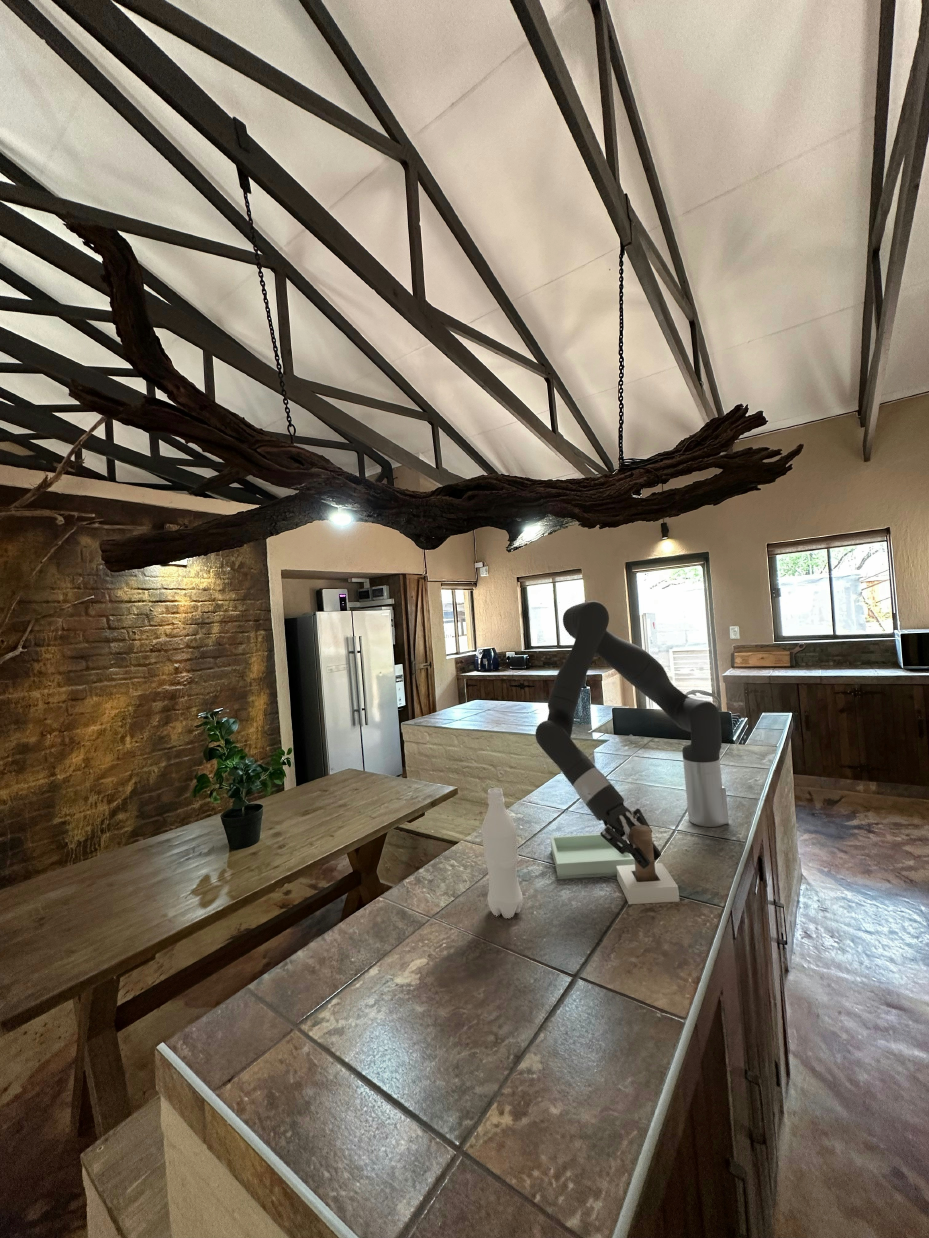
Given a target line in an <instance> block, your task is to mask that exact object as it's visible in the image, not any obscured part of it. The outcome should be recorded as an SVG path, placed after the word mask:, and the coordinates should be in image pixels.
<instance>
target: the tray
mask: <svg viewBox="0 0 929 1238" xmlns="http://www.w3.org/2000/svg"><path fill="white" fill-rule="evenodd" d="M600 833H601V832H600ZM600 833H587V834H570V835H557V836H549V840H550V849H551V855H552V858H553V863H554V867H555V870H556V874H557V878H558V880H569V879H582V878H586V879H587V878H598V877H599V878H600V877H614V876H616V877H617V870H616V866H623V865H635V861H634V858H633V857H632V855H631V854H629V853H624V854H621V853H620V852H619V851H618V850H616V849H615V848H614V847H613V846H612V845H611V844H610V843H608V842H607V841H606V840H605V839H604V838H603V837H602V836H601V835H600ZM617 843H618V844H619V845H620V846H621V847H622V846H623V845H622V844H620V843H619V842H617Z"/></svg>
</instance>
